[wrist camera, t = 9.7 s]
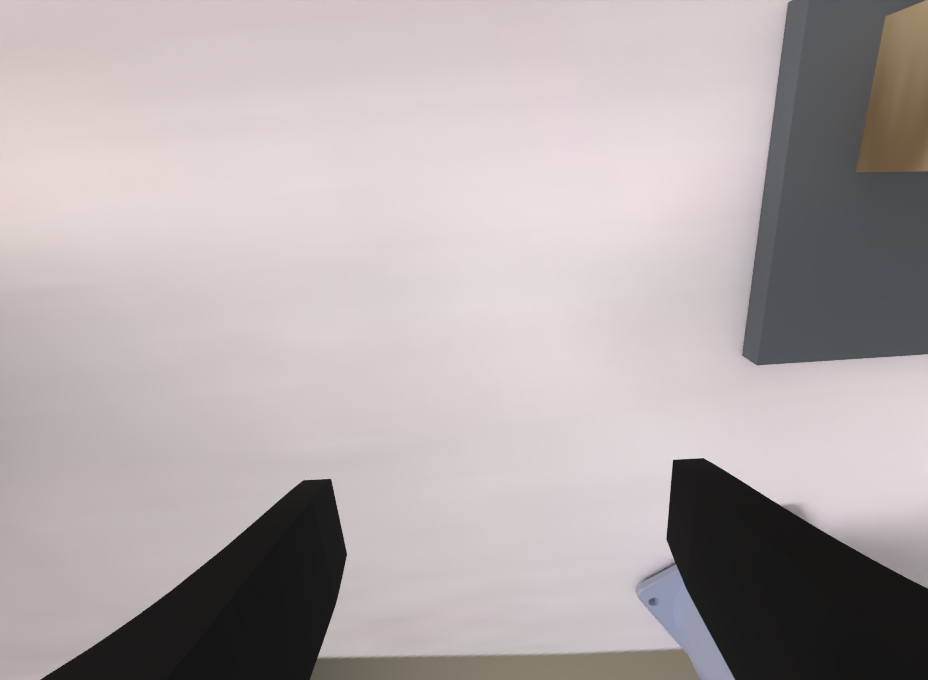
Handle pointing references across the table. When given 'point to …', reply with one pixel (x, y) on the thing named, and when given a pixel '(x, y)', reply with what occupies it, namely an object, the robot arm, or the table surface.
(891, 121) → the hollow block
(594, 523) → the table surface
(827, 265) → the pin plate
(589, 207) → the table surface
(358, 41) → the table surface
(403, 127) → the table surface
